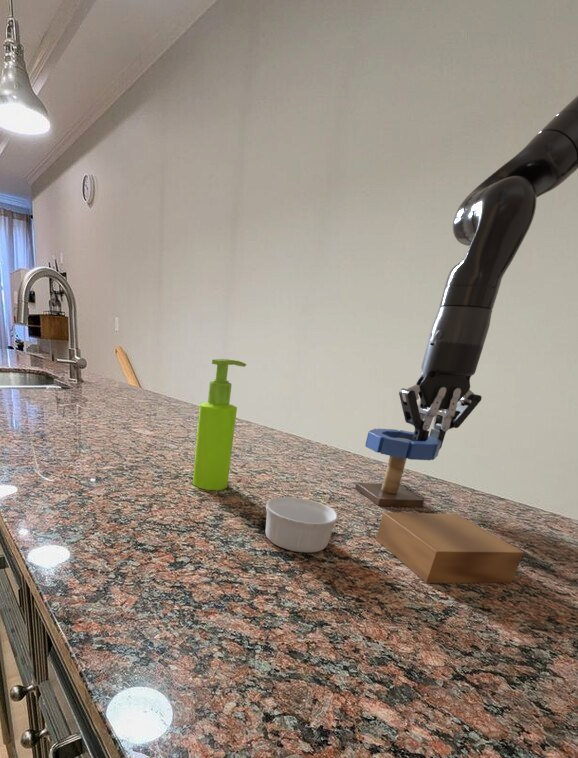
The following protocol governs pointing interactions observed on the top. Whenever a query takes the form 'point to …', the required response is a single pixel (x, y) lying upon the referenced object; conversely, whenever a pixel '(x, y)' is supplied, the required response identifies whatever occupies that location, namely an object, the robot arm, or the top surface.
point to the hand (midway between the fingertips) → (424, 451)
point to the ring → (402, 444)
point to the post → (390, 487)
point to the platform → (448, 548)
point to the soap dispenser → (215, 432)
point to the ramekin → (299, 524)
